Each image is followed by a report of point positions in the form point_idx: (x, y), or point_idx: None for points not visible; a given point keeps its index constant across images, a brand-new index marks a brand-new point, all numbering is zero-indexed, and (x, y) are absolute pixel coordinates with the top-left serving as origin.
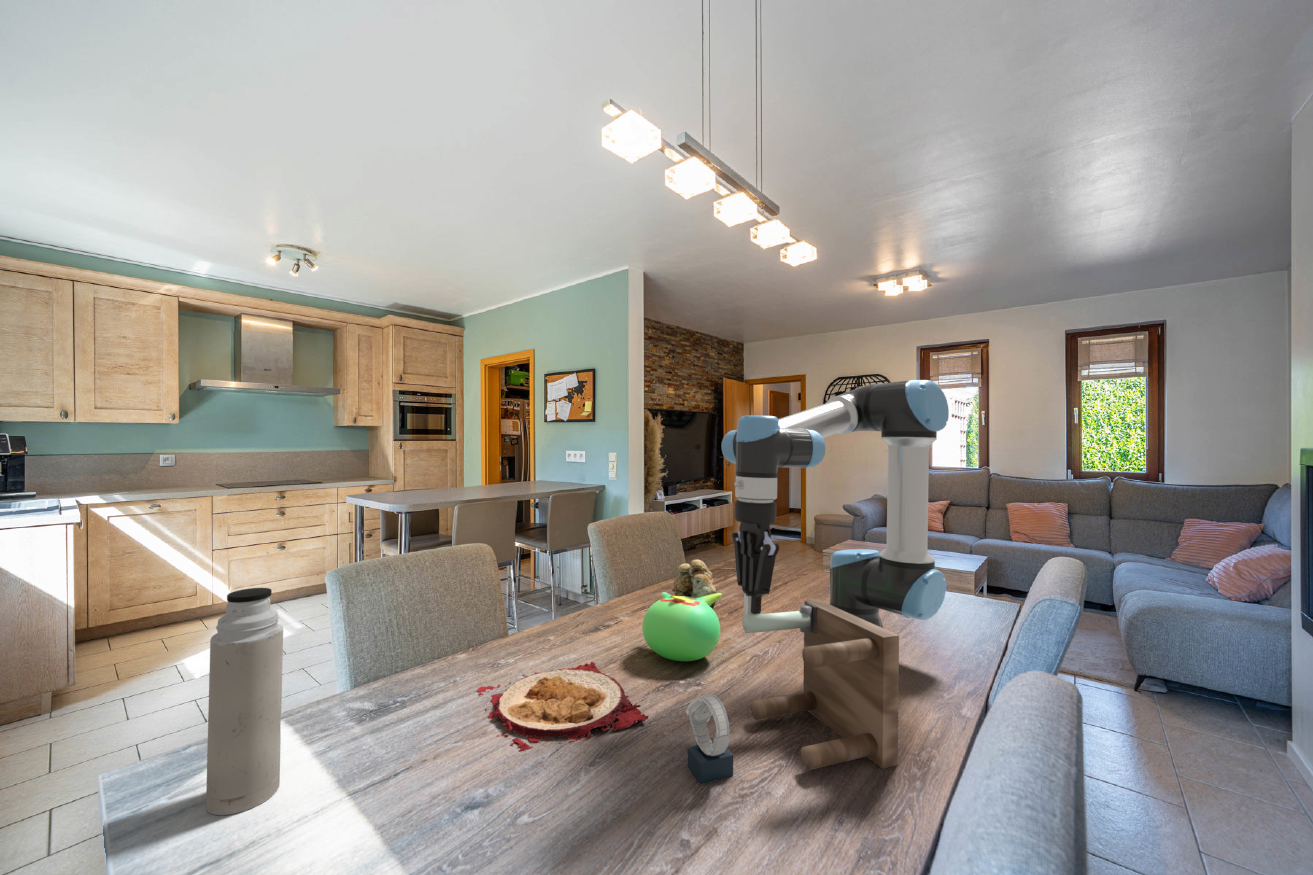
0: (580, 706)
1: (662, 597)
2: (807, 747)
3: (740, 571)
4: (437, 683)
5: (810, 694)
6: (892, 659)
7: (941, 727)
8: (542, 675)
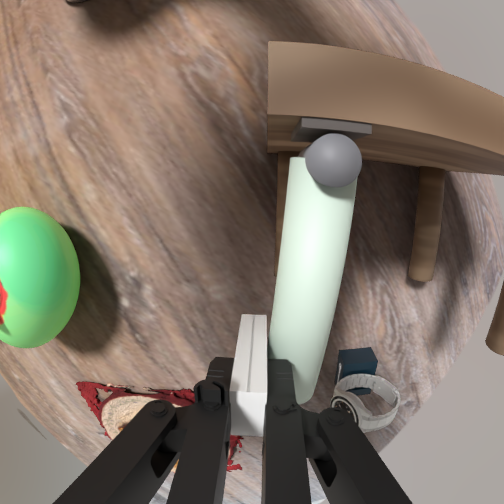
0: None
1: None
2: (425, 280)
3: (158, 486)
4: None
5: None
6: None
7: (384, 17)
8: (112, 434)
